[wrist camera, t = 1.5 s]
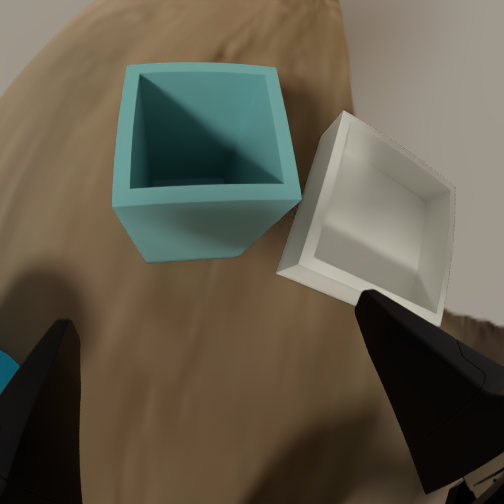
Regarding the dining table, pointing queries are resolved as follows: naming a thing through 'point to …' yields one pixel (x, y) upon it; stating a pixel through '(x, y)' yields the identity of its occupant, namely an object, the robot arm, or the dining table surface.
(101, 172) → the dining table surface
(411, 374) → the robot arm
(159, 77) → the teal crate
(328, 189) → the white crate
